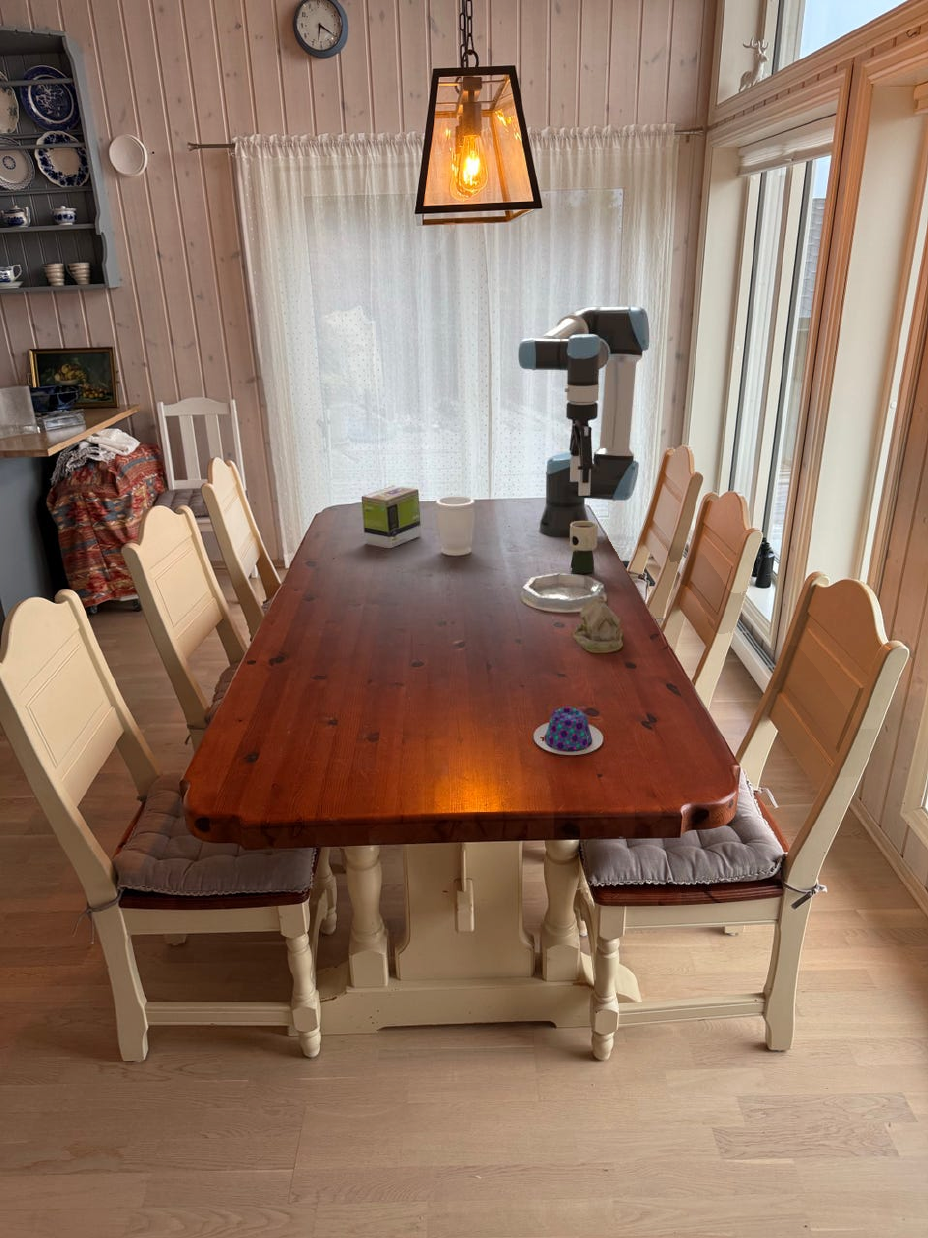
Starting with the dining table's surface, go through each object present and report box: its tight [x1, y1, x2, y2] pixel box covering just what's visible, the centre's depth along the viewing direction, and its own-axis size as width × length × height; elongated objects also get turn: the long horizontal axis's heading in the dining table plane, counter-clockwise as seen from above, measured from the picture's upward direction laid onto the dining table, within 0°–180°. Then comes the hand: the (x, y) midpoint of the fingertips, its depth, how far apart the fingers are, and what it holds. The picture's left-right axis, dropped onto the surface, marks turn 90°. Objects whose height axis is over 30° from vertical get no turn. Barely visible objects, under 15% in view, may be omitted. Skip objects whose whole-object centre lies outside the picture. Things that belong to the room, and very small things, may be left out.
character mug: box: [569, 520, 599, 574], centre depth 233 cm, size 11×7×13 cm, turn 12°
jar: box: [436, 496, 475, 557], centre depth 250 cm, size 11×10×15 cm
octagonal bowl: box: [520, 572, 608, 614], centre depth 218 cm, size 21×21×3 cm
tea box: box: [361, 485, 422, 549], centre depth 262 cm, size 15×10×15 cm
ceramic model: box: [572, 596, 624, 654], centre depth 192 cm, size 14×11×10 cm
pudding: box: [533, 706, 604, 756], centre depth 153 cm, size 12×12×5 cm
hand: (579, 488), depth 222 cm, fingers open, 13 cm apart
